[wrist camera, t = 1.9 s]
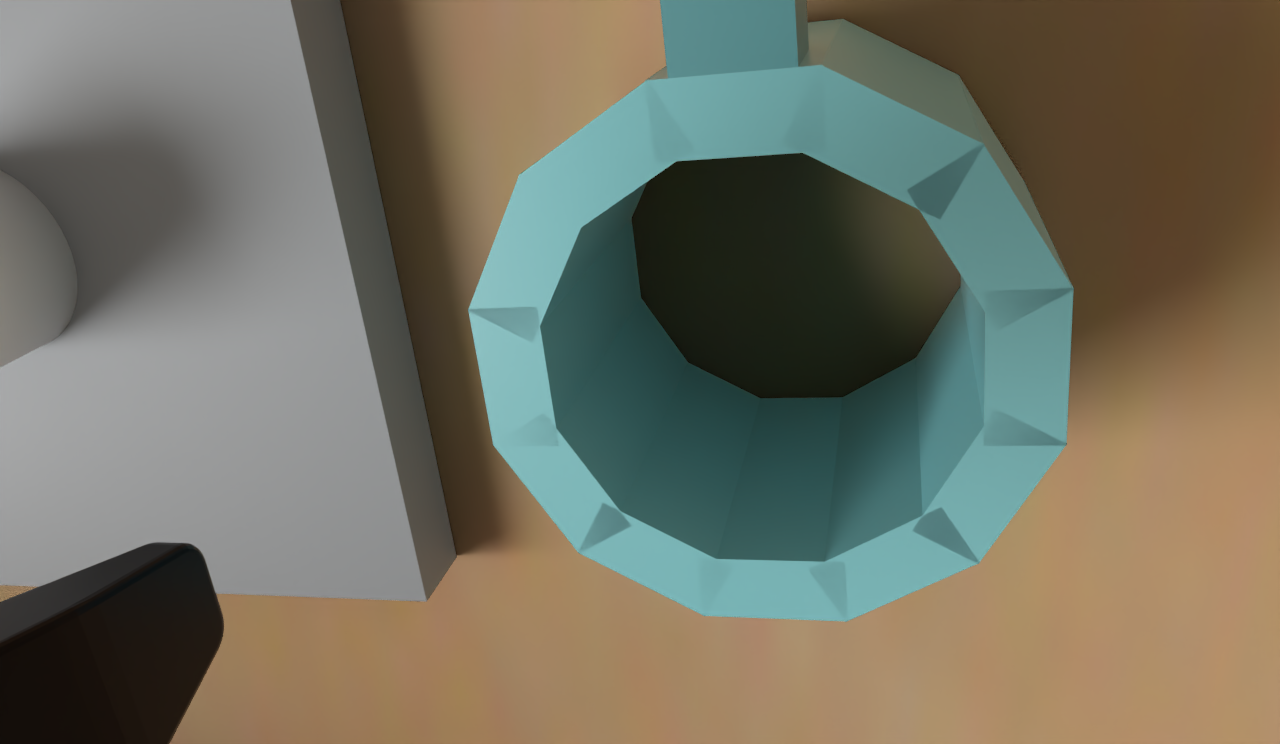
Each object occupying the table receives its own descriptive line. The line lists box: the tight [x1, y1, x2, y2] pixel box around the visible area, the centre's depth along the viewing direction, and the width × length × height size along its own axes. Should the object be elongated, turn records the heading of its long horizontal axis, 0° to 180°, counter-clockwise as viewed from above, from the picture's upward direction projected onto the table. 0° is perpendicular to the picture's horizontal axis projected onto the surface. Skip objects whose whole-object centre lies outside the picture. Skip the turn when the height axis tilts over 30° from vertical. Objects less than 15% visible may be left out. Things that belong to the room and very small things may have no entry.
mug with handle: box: [468, 0, 1074, 621], centre depth 15 cm, size 8×7×5 cm
